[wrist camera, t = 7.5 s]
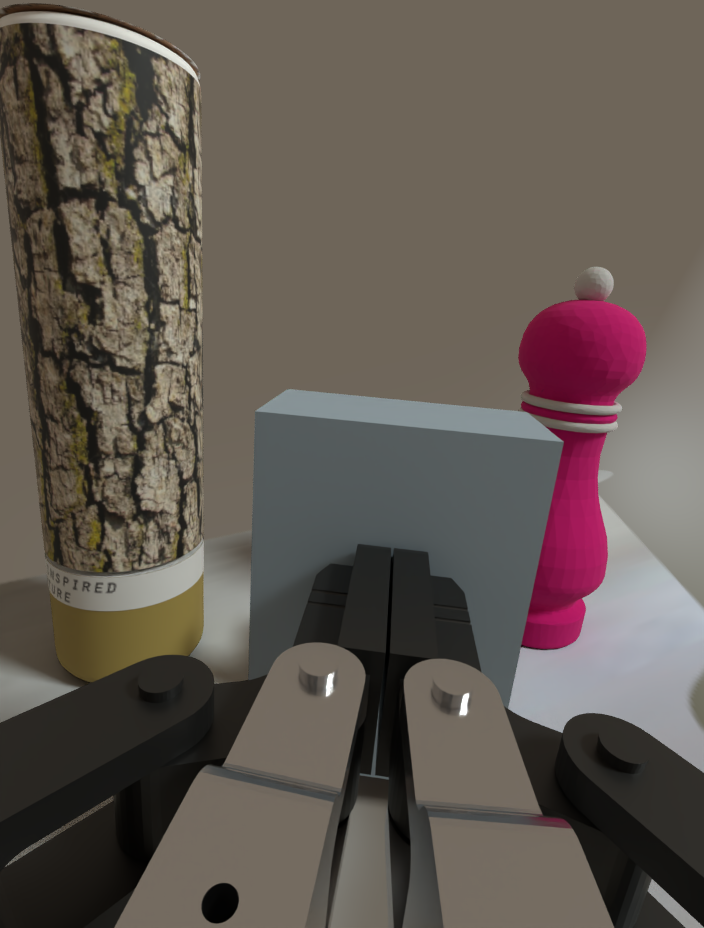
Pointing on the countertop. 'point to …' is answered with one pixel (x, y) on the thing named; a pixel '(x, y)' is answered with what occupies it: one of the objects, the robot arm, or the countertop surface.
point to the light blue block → (399, 509)
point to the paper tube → (109, 324)
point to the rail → (364, 861)
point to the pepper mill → (576, 442)
